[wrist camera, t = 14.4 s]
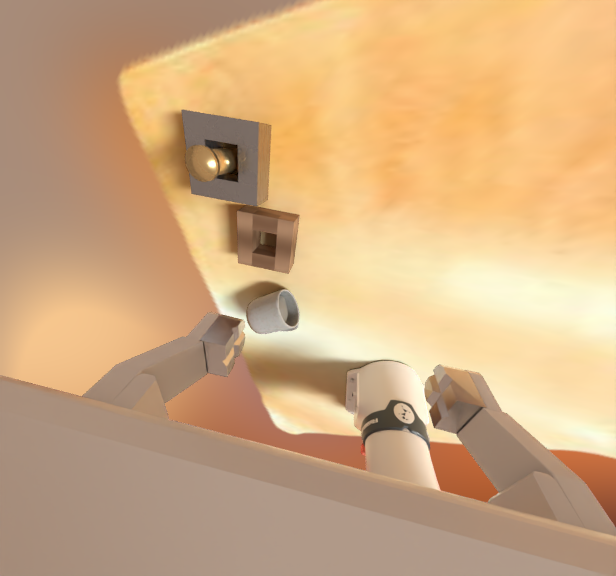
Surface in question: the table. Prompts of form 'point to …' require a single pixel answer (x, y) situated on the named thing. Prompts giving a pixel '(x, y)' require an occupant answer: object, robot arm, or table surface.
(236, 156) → the pin
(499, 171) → the table surface
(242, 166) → the socket
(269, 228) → the mount
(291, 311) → the ceramic mug
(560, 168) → the table surface
